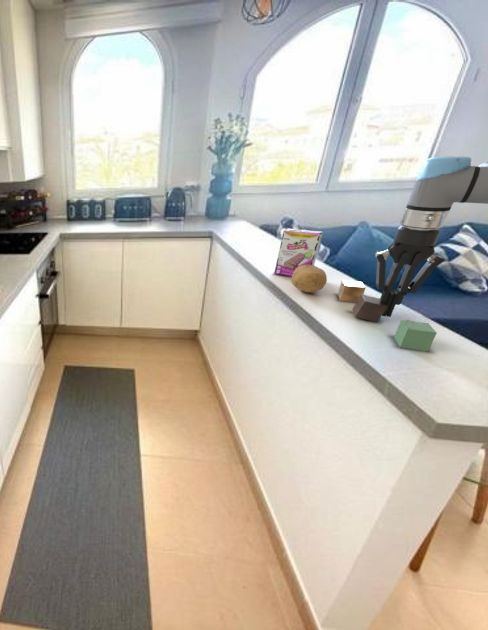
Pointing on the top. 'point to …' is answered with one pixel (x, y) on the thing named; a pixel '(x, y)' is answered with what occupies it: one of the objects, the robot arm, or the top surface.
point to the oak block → (350, 291)
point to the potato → (309, 278)
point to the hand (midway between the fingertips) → (385, 314)
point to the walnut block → (369, 308)
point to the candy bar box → (297, 250)
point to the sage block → (414, 335)
